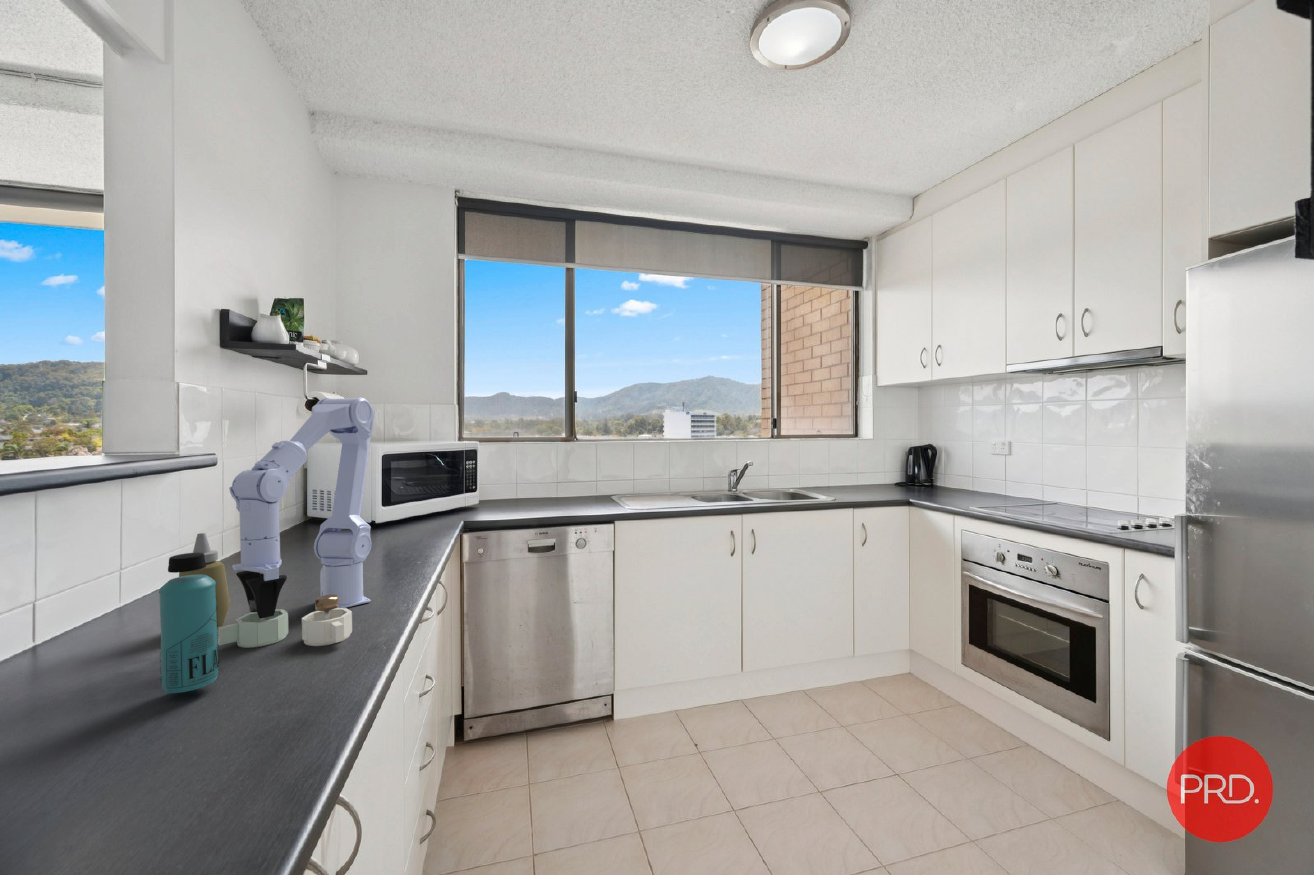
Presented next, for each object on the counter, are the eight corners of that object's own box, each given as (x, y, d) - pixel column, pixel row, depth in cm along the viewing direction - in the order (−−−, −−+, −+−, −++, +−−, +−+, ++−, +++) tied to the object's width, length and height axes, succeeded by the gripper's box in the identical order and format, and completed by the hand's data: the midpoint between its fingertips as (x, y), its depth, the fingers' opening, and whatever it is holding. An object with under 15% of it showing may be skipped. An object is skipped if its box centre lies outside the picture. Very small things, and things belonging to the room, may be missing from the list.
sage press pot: (280, 629, 104) (280, 606, 104) (292, 638, 99) (291, 615, 99) (214, 644, 96) (214, 620, 96) (223, 656, 92) (222, 631, 92)
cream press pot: (298, 638, 99) (298, 615, 99) (342, 627, 104) (342, 605, 104) (316, 653, 92) (315, 628, 92) (362, 641, 98) (361, 617, 98)
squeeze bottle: (241, 621, 108) (239, 529, 107) (203, 637, 100) (201, 538, 99) (203, 620, 109) (201, 529, 108) (163, 636, 101) (160, 537, 100)
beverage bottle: (186, 706, 75) (182, 560, 75) (147, 702, 76) (143, 558, 76) (231, 684, 82) (228, 549, 81) (195, 680, 83) (192, 548, 82)
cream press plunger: (307, 634, 99) (306, 598, 99) (337, 626, 103) (337, 591, 103) (316, 641, 96) (315, 604, 95) (347, 633, 99) (347, 597, 99)
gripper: (223, 535, 100) (225, 609, 100) (242, 546, 90) (244, 629, 91) (269, 529, 105) (271, 600, 106) (292, 539, 96) (293, 617, 96)
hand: (262, 612), depth 98 cm, fingers open, 5 cm apart
